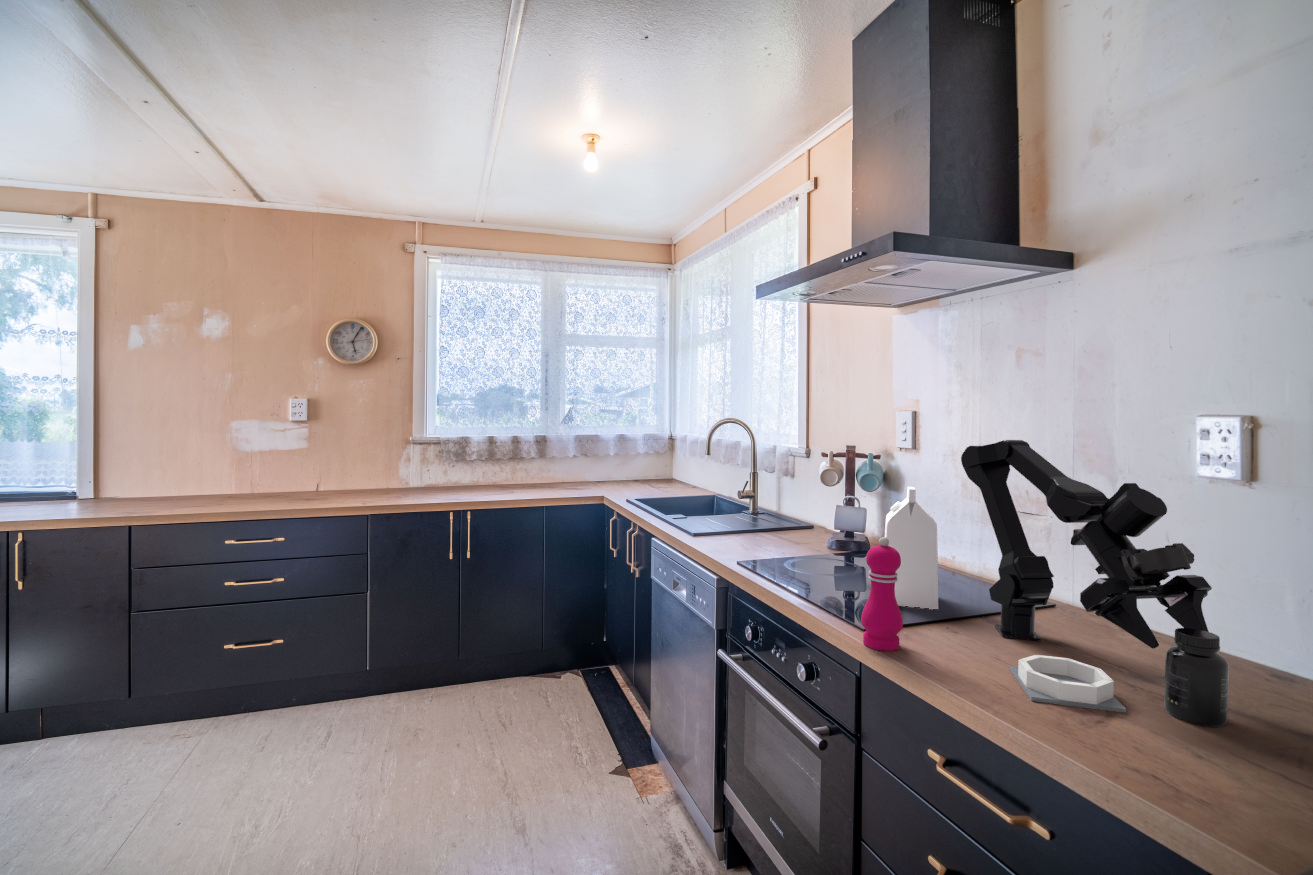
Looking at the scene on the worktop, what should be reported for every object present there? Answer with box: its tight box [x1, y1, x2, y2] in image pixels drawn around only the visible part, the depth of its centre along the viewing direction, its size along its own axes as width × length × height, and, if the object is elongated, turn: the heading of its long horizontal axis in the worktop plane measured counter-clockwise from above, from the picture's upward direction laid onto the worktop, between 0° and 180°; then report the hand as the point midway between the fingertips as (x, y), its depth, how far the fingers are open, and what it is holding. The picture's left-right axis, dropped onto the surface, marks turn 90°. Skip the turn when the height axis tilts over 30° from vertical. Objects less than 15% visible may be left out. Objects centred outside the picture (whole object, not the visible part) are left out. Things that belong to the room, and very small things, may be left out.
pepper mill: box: [860, 536, 904, 652], centre depth 113 cm, size 7×7×20 cm
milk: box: [884, 486, 939, 610], centre depth 142 cm, size 12×12×26 cm
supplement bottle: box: [1163, 627, 1230, 728], centre depth 87 cm, size 7×7×12 cm
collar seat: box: [1009, 654, 1127, 713], centre depth 95 cm, size 12×12×3 cm
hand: (1182, 645), depth 89 cm, fingers open, 9 cm apart
